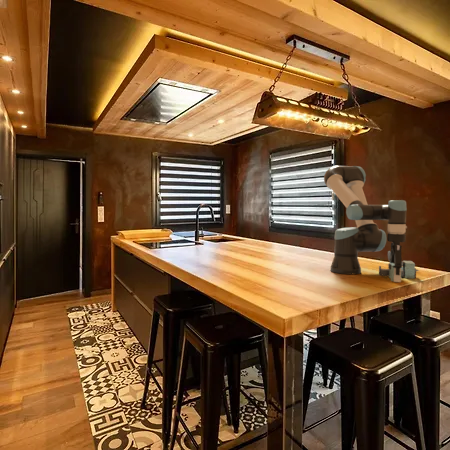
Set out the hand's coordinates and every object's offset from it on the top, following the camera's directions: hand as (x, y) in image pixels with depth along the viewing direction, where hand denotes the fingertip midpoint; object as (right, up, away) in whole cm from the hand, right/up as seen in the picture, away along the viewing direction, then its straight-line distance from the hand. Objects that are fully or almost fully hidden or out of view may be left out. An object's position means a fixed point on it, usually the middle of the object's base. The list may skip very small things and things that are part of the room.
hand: (395, 279), depth 152 cm
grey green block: (0, 0, 0) cm, 0 cm away
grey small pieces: (+15, 0, +21) cm, 26 cm away
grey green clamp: (+5, 0, +8) cm, 10 cm away
